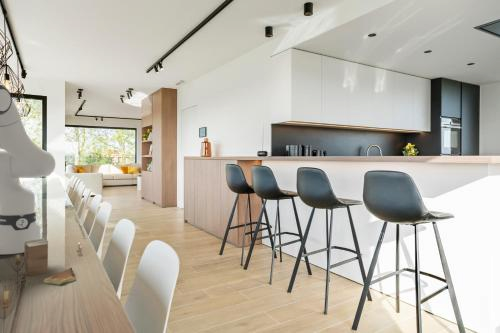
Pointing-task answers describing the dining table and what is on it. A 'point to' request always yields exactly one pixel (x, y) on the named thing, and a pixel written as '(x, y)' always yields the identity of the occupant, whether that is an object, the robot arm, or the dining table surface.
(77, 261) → the dining table surface
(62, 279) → the shard
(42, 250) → the wooden block
